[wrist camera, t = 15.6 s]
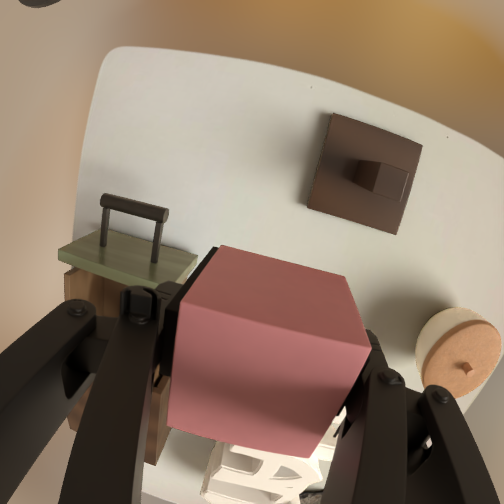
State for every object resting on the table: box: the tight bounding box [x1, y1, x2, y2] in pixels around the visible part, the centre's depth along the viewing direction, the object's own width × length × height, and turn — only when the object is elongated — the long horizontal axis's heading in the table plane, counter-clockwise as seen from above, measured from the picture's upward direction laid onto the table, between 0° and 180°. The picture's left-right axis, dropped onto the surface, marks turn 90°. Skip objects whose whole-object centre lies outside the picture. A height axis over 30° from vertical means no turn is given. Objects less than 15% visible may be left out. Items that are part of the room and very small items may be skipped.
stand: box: [307, 113, 423, 235], centre depth 27 cm, size 10×10×9 cm
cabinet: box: [67, 375, 172, 466], centre depth 37 cm, size 16×14×11 cm
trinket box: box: [415, 307, 501, 399], centre depth 31 cm, size 11×11×9 cm
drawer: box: [58, 193, 198, 388], centre depth 32 cm, size 20×12×9 cm, turn 166°
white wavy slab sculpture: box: [200, 406, 346, 504], centre depth 38 cm, size 35×16×11 cm, turn 159°
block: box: [166, 245, 372, 458], centre depth 11 cm, size 5×5×5 cm
